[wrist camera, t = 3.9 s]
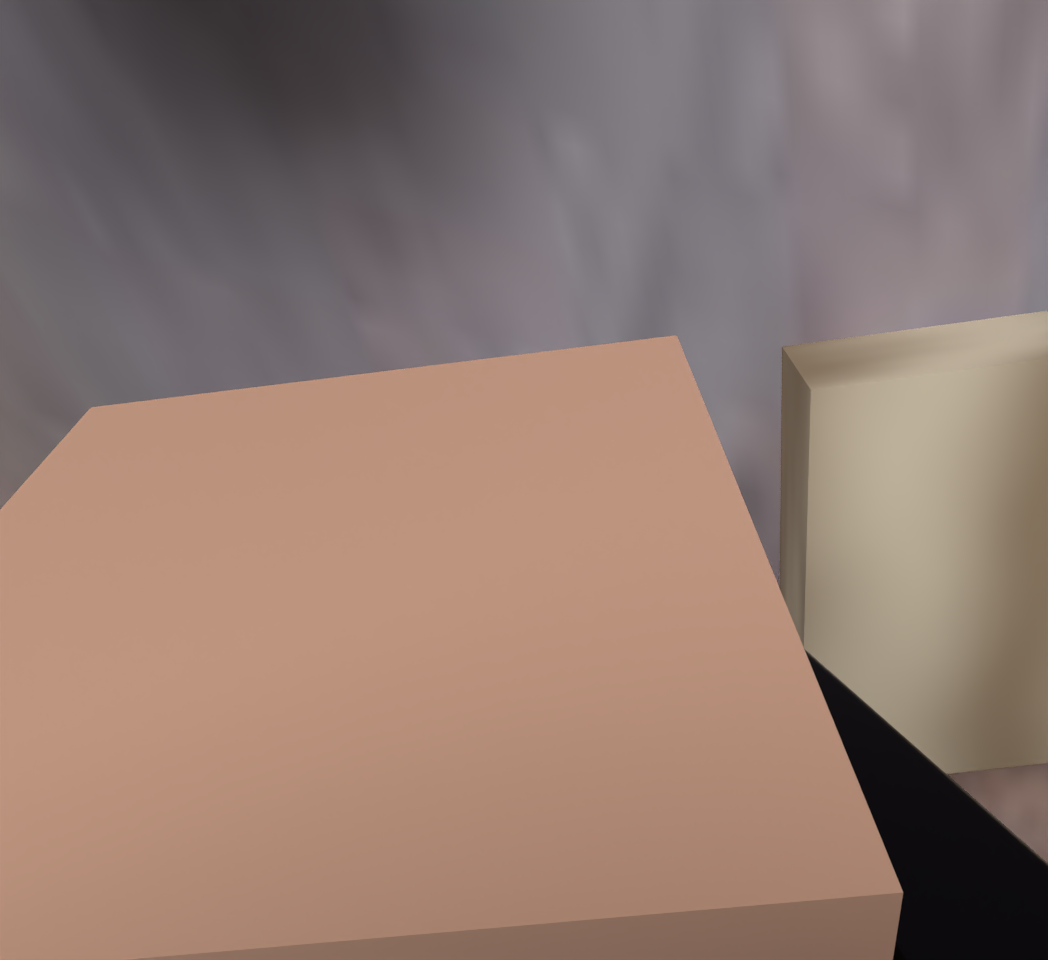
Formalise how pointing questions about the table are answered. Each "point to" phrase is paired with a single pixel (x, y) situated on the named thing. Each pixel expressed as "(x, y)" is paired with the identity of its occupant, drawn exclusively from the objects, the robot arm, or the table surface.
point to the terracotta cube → (417, 683)
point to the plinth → (925, 530)
